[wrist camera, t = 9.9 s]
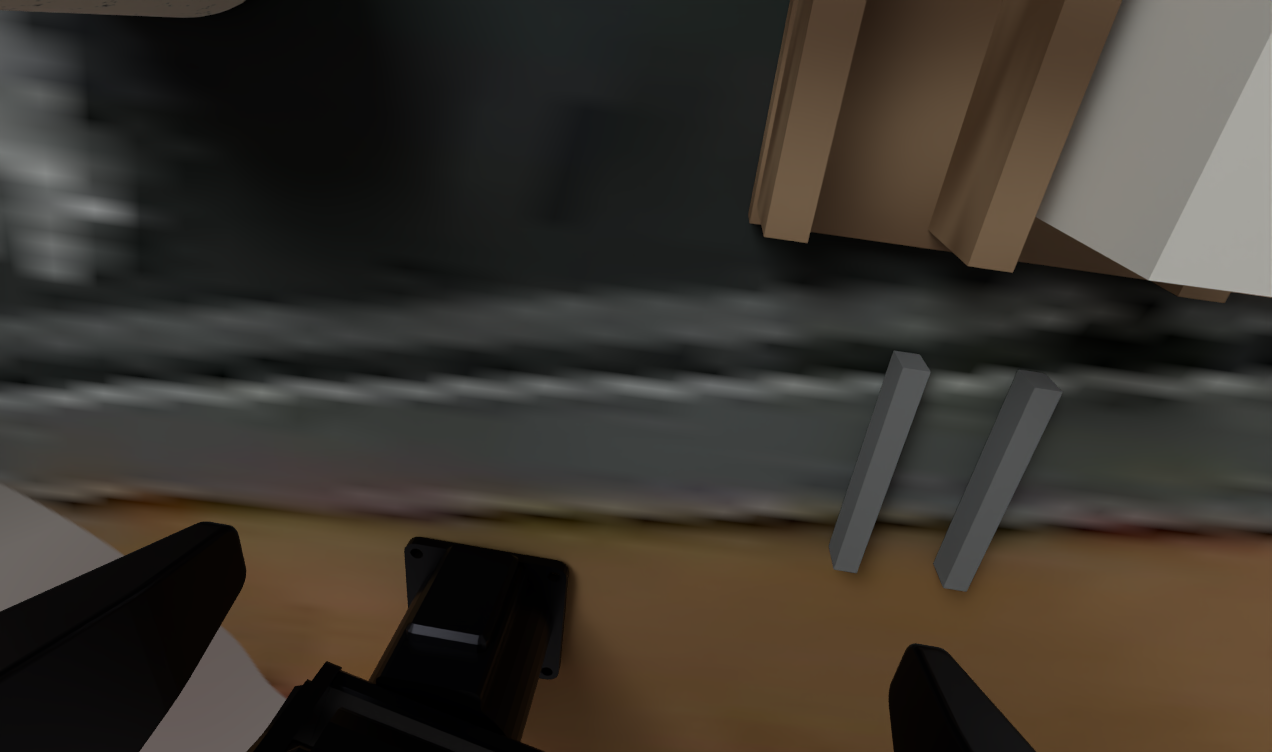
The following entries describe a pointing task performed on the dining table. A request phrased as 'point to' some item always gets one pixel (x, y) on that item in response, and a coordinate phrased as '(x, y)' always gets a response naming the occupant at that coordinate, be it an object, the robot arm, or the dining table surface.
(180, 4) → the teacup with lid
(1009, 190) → the rack
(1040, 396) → the rails
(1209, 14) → the upright white panel
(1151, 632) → the dining table surface
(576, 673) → the dining table surface
